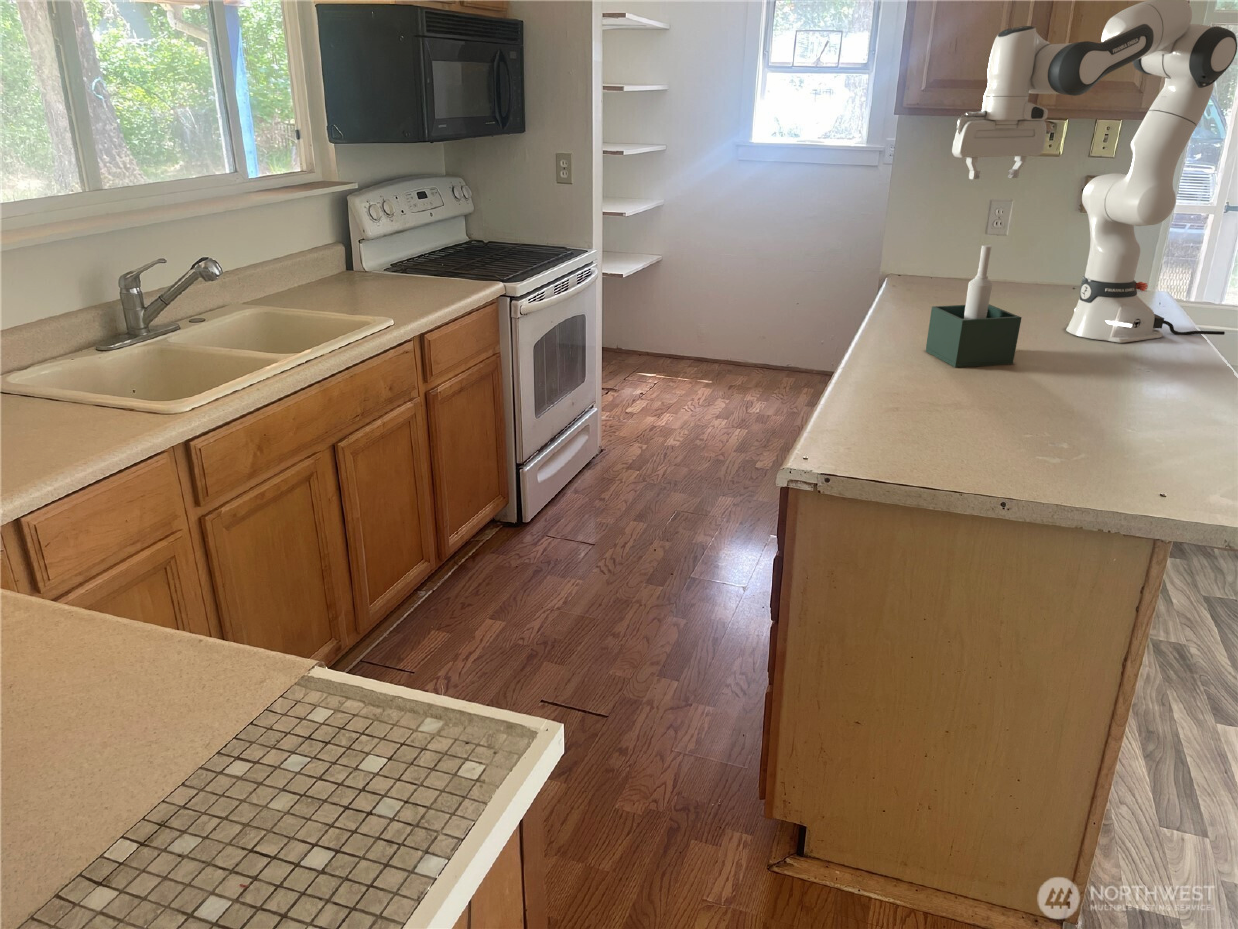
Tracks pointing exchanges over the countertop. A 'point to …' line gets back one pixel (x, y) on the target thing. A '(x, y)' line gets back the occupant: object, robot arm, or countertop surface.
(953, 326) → the bin
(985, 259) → the bottle
